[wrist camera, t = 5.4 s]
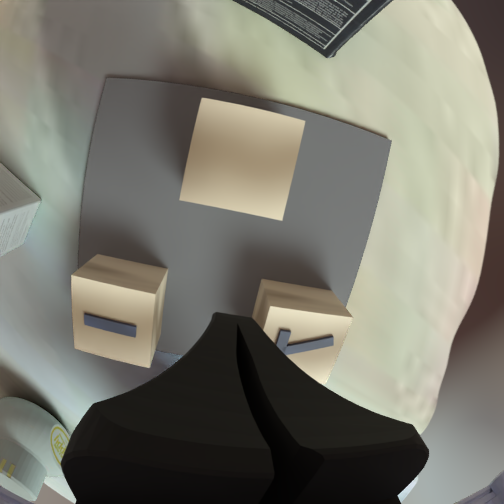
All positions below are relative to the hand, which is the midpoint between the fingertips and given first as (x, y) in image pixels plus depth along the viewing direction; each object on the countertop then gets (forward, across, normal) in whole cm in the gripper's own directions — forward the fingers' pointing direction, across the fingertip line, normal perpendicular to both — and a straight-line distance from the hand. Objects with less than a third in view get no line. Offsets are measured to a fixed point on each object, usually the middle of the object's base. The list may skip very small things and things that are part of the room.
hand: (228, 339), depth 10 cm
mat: (+10, 0, -1) cm, 10 cm away
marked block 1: (+10, +6, +4) cm, 12 cm away
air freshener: (+10, +17, +23) cm, 30 cm away
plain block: (+10, 0, -6) cm, 11 cm away
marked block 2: (+10, -5, +4) cm, 11 cm away
